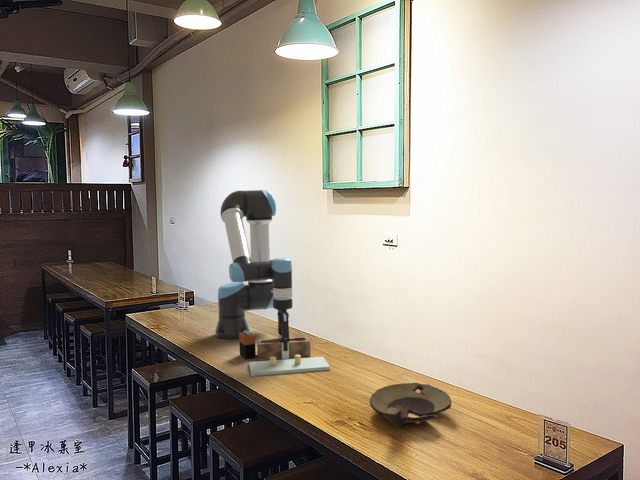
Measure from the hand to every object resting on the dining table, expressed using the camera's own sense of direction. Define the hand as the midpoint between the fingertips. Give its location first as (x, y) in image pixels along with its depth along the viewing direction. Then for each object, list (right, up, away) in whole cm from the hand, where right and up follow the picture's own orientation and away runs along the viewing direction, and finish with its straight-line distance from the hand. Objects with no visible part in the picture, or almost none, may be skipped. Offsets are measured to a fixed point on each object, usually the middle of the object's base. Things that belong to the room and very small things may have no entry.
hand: (283, 354), depth 209 cm
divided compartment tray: (0, 0, 0) cm, 0 cm away
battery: (-14, -1, -1) cm, 14 cm away
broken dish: (+38, -5, -59) cm, 70 cm away
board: (+3, -1, -15) cm, 15 cm away
